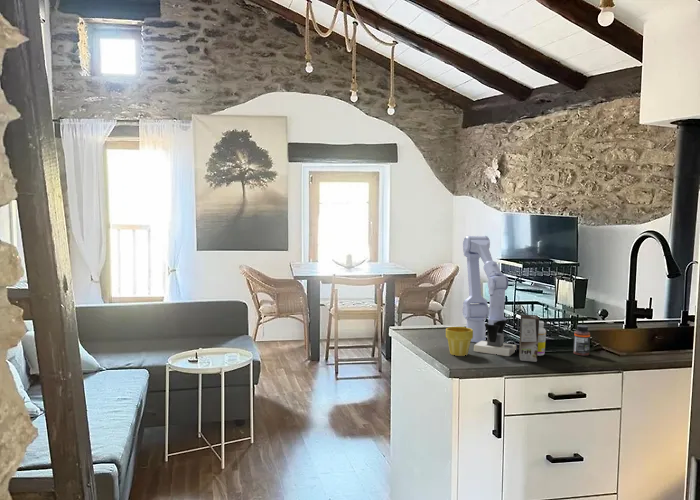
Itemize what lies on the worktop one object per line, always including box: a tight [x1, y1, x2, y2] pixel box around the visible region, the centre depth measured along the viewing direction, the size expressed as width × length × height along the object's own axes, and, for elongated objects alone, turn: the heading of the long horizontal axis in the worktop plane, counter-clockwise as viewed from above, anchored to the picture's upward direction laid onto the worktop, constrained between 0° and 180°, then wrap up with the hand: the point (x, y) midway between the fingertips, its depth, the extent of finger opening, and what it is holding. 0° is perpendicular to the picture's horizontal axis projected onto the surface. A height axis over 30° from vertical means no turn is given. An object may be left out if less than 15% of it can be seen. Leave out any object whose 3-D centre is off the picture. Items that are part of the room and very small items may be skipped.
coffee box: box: [518, 314, 540, 363], centre depth 251 cm, size 9×6×16 cm
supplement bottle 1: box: [537, 320, 547, 357], centre depth 258 cm, size 7×7×13 cm
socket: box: [473, 340, 517, 357], centre depth 262 cm, size 10×14×3 cm
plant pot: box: [445, 326, 473, 357], centre depth 255 cm, size 10×10×10 cm
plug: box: [486, 332, 505, 347], centre depth 261 cm, size 4×5×6 cm
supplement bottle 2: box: [572, 324, 591, 357], centre depth 260 cm, size 6×6×11 cm
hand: (495, 340), depth 261 cm, fingers open, 7 cm apart
